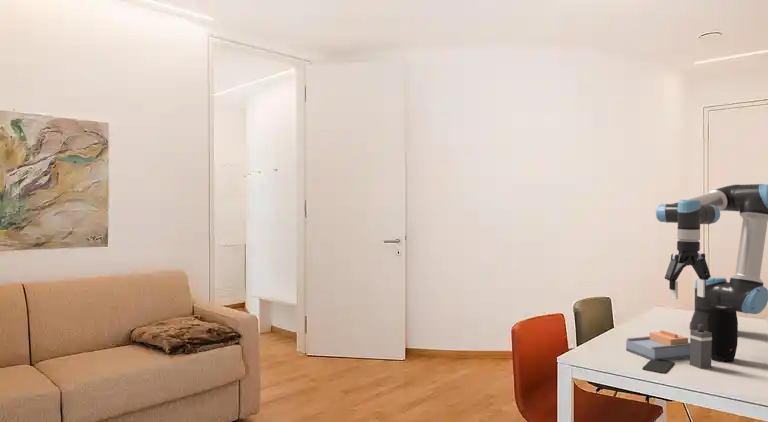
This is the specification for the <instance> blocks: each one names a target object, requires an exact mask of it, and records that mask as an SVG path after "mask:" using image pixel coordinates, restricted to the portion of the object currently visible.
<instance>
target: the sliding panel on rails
mask: <svg viewBox="0 0 768 422" xmlns="http://www.w3.org/2000/svg"><path fill="white" fill-rule="evenodd" d="M625 342H626V343H625V344H626V345H625V351H627V352H629V353H632V354H633V355H637V356H639V357H642V358H645V359H647V360H649V361H650V360H651V359H653V360H659V359H661V360H667V361H672V360H680V359H690V341H688V343H685V344H675V345H665V344H662V343H659V342H656V341H653V340H650V335H648V336H639V337H627V338H626V341H625Z"/></svg>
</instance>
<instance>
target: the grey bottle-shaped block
mask: <svg viewBox="0 0 768 422" xmlns="http://www.w3.org/2000/svg"><path fill="white" fill-rule="evenodd" d="M689 334H690V335H689V340H690V341H689V343H690V358H689V366H691V365H692V367H695V368H697V369H700V370H702V369H711V368H712V358H711V349H712V333H711V332H707V331H704V325H703V324H698V330H690V332H689Z"/></svg>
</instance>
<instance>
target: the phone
mask: <svg viewBox="0 0 768 422" xmlns="http://www.w3.org/2000/svg"><path fill="white" fill-rule="evenodd" d="M673 366H675V362H674V361H672V360H661V359H659V360H653V359H651V360H650V359H649V361H648V362H647V363H646V364H645V365H644V366H642V370H643V371H647V372H652V373H656V374H662V375H664V374H667V373H668V371H670V369H672V367H673Z"/></svg>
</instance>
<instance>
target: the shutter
mask: <svg viewBox="0 0 768 422" xmlns="http://www.w3.org/2000/svg"><path fill="white" fill-rule="evenodd" d="M649 336H650V340H653V341H656V342H659V343H662V344H665V345H675V344H685V343H688V342H689V337H687V336H684V335H679V334H677V333H673V332H671V331H666V330H663V329H662V330H661V329H660V330H659V331H655V332H649Z"/></svg>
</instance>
